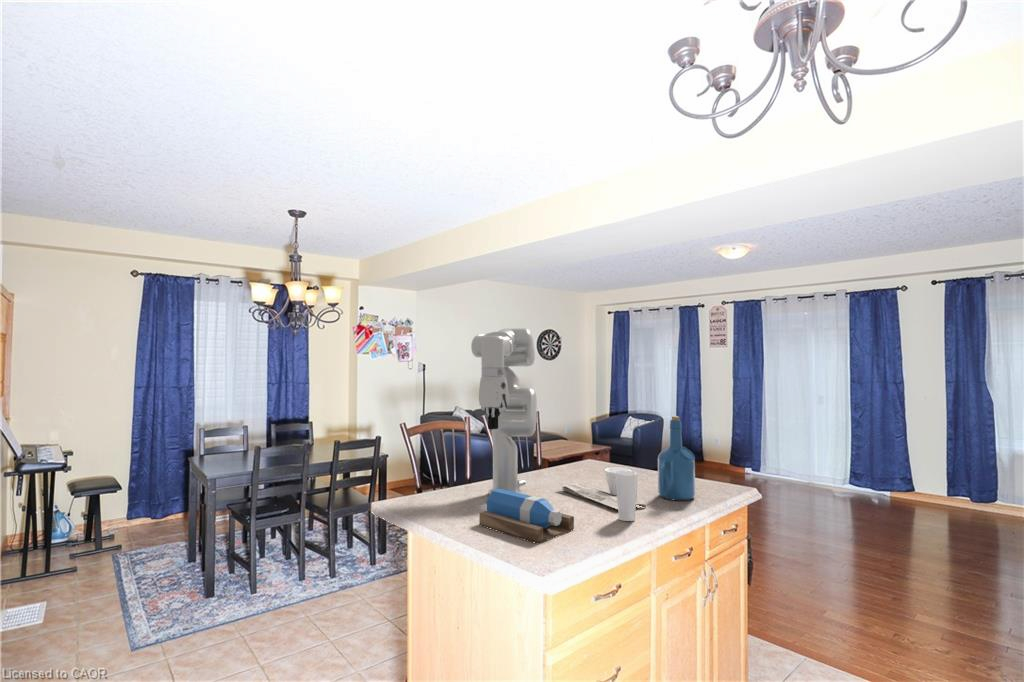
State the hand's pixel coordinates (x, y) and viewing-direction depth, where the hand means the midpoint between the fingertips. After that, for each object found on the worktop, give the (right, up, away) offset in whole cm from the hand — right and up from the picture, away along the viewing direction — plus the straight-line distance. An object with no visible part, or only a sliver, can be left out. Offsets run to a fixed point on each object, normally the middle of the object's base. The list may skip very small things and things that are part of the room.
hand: (493, 428), depth 172 cm
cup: (+47, -30, +27) cm, 62 cm away
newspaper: (+38, -30, +21) cm, 53 cm away
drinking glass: (+43, -29, -4) cm, 52 cm away
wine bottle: (+68, -30, +23) cm, 78 cm away
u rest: (+10, -29, -11) cm, 32 cm away
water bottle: (+1, -24, -2) cm, 24 cm away
